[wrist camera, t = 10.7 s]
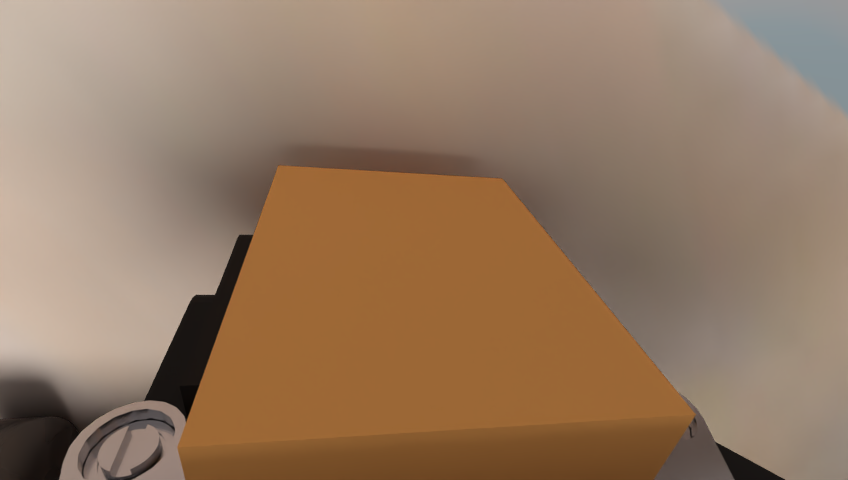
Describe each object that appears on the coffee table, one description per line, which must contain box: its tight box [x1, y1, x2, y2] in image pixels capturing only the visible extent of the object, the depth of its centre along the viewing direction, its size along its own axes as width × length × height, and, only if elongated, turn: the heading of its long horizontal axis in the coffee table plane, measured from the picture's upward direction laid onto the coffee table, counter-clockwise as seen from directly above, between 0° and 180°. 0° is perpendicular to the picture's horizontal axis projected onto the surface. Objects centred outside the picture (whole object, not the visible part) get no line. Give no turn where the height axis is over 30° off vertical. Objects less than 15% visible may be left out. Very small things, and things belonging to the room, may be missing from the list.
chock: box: [177, 165, 696, 480], centre depth 9 cm, size 5×8×6 cm, turn 173°
